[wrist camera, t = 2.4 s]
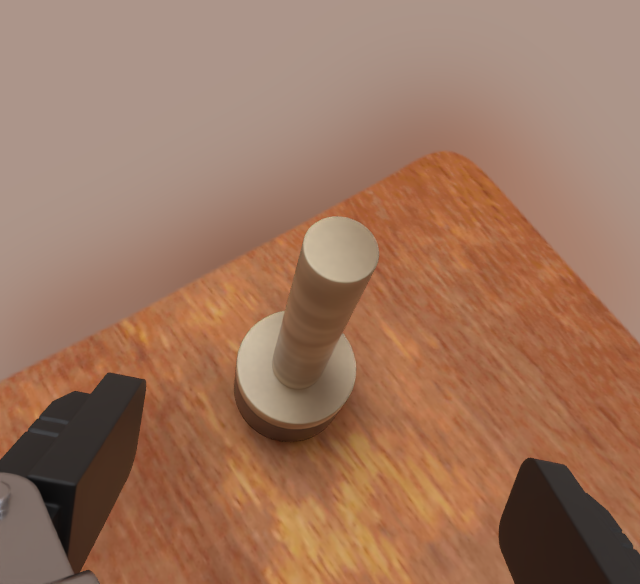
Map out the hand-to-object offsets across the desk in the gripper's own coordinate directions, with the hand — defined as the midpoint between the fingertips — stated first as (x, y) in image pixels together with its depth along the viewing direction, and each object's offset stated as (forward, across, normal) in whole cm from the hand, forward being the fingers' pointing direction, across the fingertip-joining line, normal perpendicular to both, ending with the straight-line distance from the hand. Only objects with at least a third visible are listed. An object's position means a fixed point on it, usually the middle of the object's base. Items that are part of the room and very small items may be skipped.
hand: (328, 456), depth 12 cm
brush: (+17, 0, +7) cm, 18 cm away
